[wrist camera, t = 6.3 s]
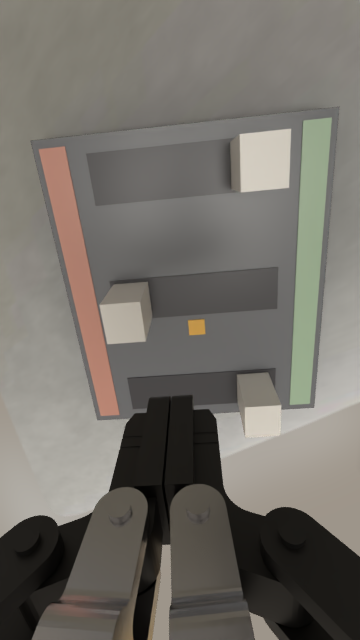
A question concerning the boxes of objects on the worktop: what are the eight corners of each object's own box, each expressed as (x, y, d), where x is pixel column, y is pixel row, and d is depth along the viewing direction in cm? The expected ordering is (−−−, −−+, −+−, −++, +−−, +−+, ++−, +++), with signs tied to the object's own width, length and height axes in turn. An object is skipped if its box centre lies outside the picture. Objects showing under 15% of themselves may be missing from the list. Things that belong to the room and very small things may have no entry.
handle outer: (236, 374, 26) (244, 407, 22) (268, 372, 26) (281, 405, 22) (237, 401, 27) (245, 437, 23) (267, 400, 27) (280, 435, 23)
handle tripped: (113, 284, 23) (99, 304, 19) (147, 281, 23) (139, 301, 19) (119, 318, 24) (107, 344, 20) (152, 316, 24) (145, 341, 20)
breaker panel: (46, 144, 22) (29, 140, 20) (322, 114, 21) (340, 106, 19) (104, 401, 30) (97, 421, 28) (304, 389, 29) (314, 408, 27)
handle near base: (230, 141, 19) (239, 133, 16) (271, 137, 19) (291, 128, 16) (231, 189, 20) (240, 192, 17) (270, 185, 20) (289, 187, 17)
